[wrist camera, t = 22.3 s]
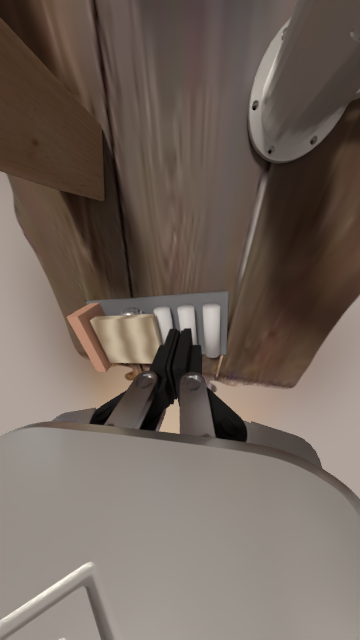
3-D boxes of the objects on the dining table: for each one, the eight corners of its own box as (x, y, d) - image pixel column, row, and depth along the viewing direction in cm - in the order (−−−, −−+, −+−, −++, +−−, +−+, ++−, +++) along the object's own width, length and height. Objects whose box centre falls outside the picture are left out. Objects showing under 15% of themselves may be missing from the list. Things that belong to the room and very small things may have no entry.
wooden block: (106, 202, 29) (-39, 151, 12) (58, 190, 29) (-155, 121, 12) (103, 126, 24) (-163, -165, 7) (45, 111, 24) (-365, -211, 7)
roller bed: (228, 291, 34) (234, 306, 26) (225, 352, 43) (230, 377, 35) (88, 300, 41) (61, 315, 33) (111, 352, 50) (95, 372, 43)
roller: (138, 306, 39) (135, 313, 35) (150, 347, 46) (148, 356, 42) (124, 308, 39) (119, 315, 36) (137, 348, 46) (134, 357, 42)
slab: (154, 313, 34) (152, 317, 32) (165, 358, 41) (163, 363, 39) (95, 316, 37) (89, 320, 35) (113, 357, 44) (110, 362, 42)
